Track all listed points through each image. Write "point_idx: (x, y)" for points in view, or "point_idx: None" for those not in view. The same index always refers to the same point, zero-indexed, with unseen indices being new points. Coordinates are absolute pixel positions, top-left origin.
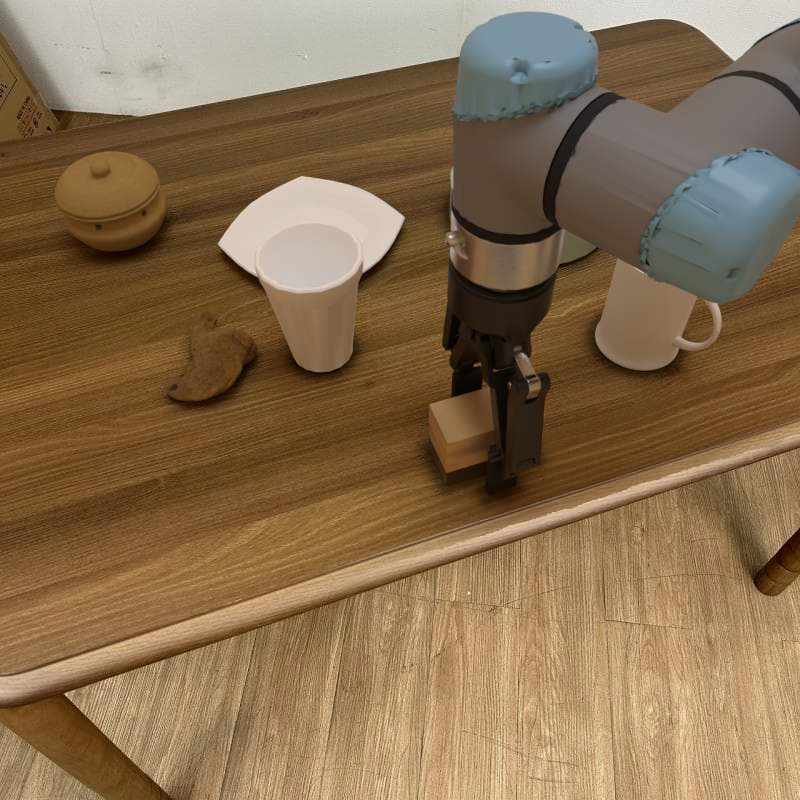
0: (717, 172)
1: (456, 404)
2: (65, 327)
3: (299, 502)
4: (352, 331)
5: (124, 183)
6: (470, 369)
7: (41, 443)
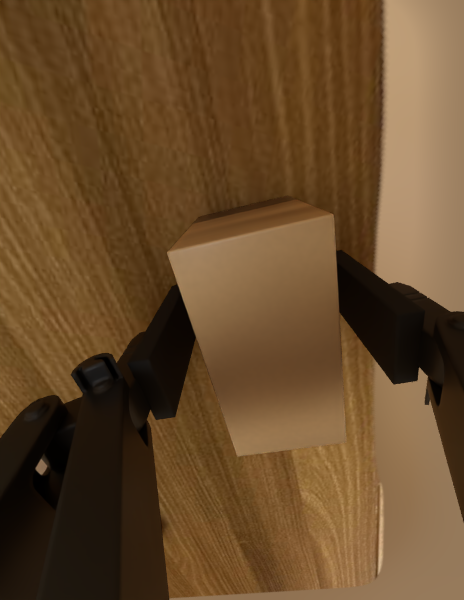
0: None
1: (246, 417)
2: None
3: (289, 472)
4: (40, 470)
5: None
6: (143, 386)
7: (196, 586)
